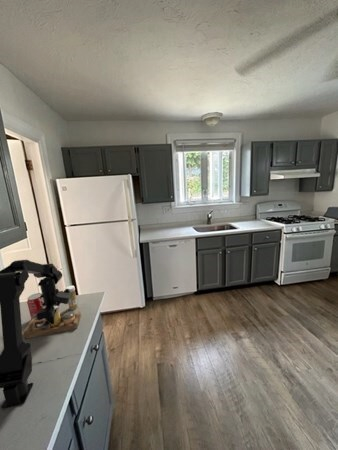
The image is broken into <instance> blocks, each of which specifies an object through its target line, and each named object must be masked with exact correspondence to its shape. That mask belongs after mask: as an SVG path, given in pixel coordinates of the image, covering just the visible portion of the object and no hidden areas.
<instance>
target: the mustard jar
mask: <svg viewBox="0 0 338 450" xmlns="http://www.w3.org/2000/svg"><path fill="white" fill-rule="evenodd" d="M54 308H55V310H57V311H56V312H55V314H54V324H51V323H50V322H49V324H50V327H56V326H58V325H60V324H61V314H60V305H59V306H54Z"/></svg>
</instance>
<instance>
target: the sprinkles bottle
mask: <svg viewBox="0 0 338 450" xmlns="http://www.w3.org/2000/svg"><path fill="white" fill-rule="evenodd" d="M65 289H69V290H70V292H71V296H70V300H69V302H68V304H67V305H68V309H69V310H68V311H75V310H77V309H78V308H79V307H78V301H77V300H78V299H77V295H76V288H75V286H74V285H69V286H66V287H65Z"/></svg>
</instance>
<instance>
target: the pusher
mask: <svg viewBox="0 0 338 450" xmlns="http://www.w3.org/2000/svg"><path fill="white" fill-rule="evenodd" d="M43 320H44V319H43ZM48 326H49V321H48V320H46V319H45V320H44V321H43V323H42V324H38V325H36V328H39V327H41V329H42V330H43V329H47V327H48Z"/></svg>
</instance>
